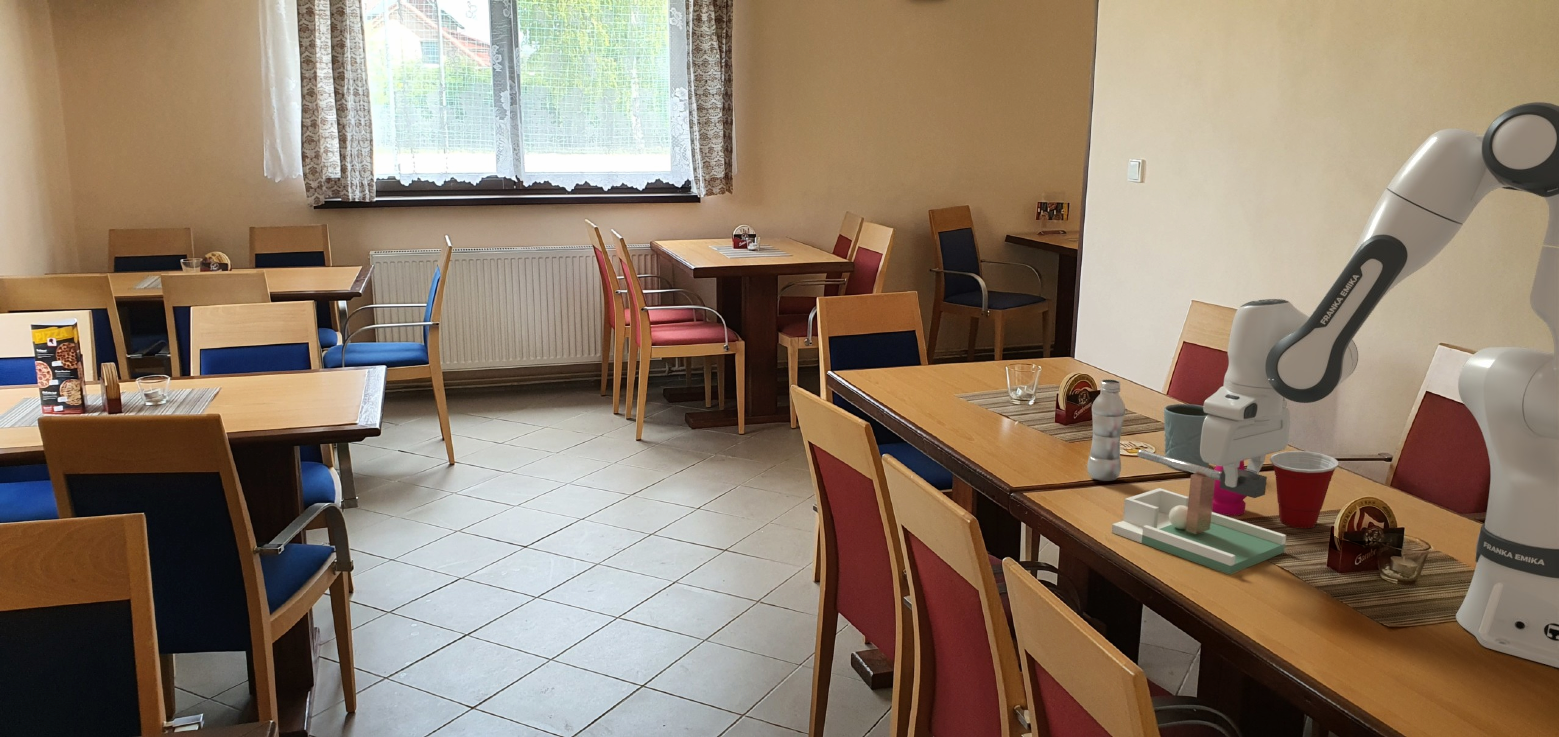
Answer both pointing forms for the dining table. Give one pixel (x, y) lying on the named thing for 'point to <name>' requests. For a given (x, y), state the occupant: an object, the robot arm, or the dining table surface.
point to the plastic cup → (1302, 485)
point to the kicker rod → (1207, 488)
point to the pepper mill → (1227, 498)
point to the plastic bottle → (1106, 432)
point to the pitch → (1215, 548)
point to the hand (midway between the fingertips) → (1241, 483)
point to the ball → (1178, 516)
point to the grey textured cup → (1184, 433)
